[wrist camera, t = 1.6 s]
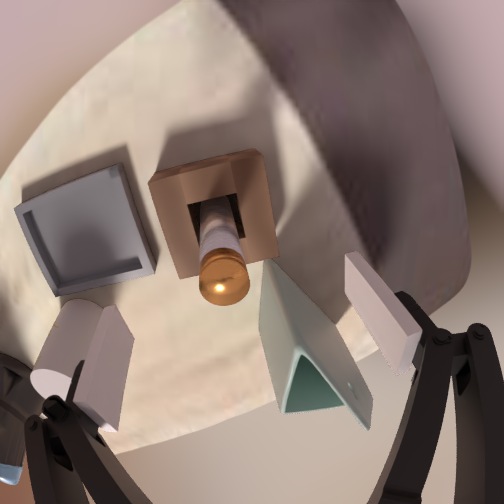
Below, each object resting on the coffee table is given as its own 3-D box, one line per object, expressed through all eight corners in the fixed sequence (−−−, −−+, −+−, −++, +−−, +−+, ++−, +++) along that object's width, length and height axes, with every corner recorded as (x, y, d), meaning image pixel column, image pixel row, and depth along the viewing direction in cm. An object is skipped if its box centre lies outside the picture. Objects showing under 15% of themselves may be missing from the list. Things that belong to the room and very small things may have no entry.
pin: (204, 223, 30) (206, 310, 18) (197, 196, 28) (192, 270, 16) (232, 216, 30) (253, 299, 18) (226, 189, 29) (244, 258, 16)
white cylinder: (56, 294, 31) (21, 361, 21) (112, 304, 33) (88, 379, 23) (66, 338, 35) (42, 403, 24) (116, 348, 36) (101, 418, 26)
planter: (216, 295, 35) (234, 451, 17) (268, 254, 33) (328, 406, 16) (292, 355, 42) (332, 471, 25) (336, 325, 40) (394, 439, 23)
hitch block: (182, 259, 32) (179, 279, 28) (155, 172, 27) (147, 182, 23) (270, 238, 32) (279, 256, 28) (255, 148, 27) (262, 155, 24)
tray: (60, 288, 31) (55, 297, 29) (21, 202, 25) (13, 208, 23) (156, 265, 31) (154, 274, 30) (121, 162, 25) (116, 165, 24)
